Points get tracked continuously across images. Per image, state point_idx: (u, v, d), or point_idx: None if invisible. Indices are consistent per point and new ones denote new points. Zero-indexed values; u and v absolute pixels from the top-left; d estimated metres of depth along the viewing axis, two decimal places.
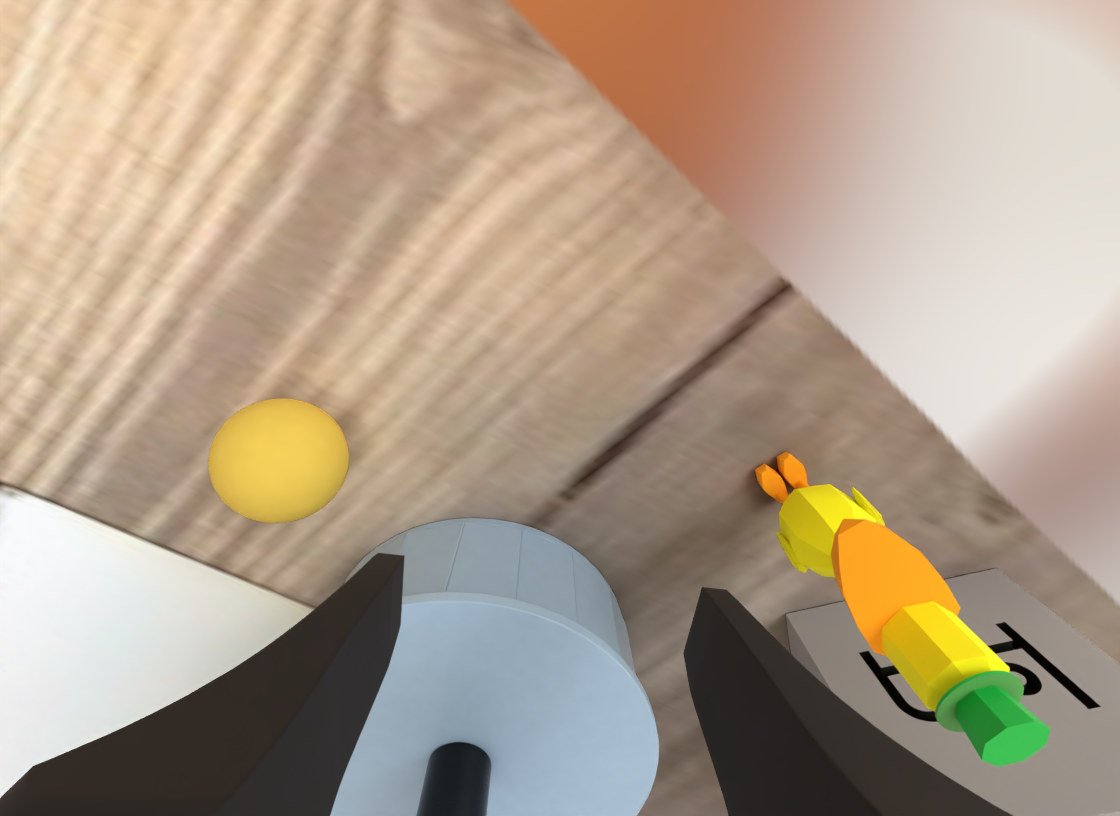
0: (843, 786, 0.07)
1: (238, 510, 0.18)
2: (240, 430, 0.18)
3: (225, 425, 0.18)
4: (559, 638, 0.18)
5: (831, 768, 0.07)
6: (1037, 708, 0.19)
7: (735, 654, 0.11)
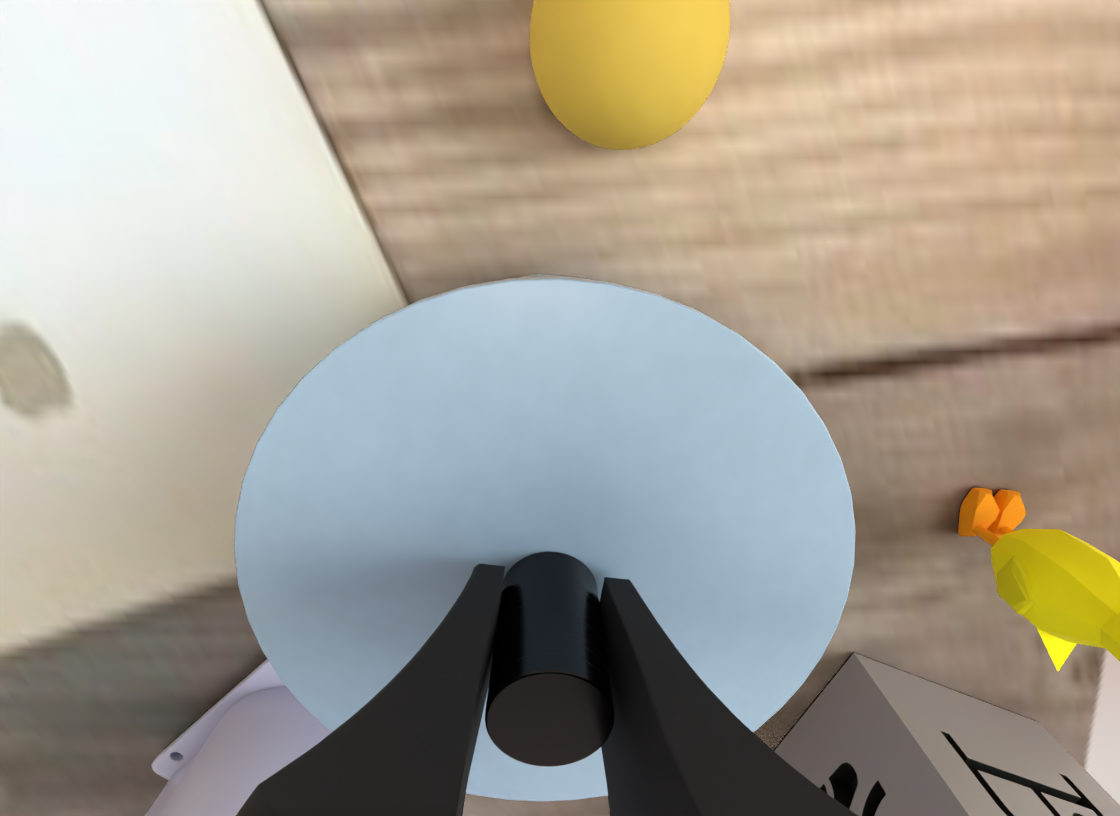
0: (674, 771, 0.07)
1: (579, 26, 0.11)
2: None
3: None
4: (830, 508, 0.12)
5: (668, 754, 0.07)
6: None
7: (620, 643, 0.10)
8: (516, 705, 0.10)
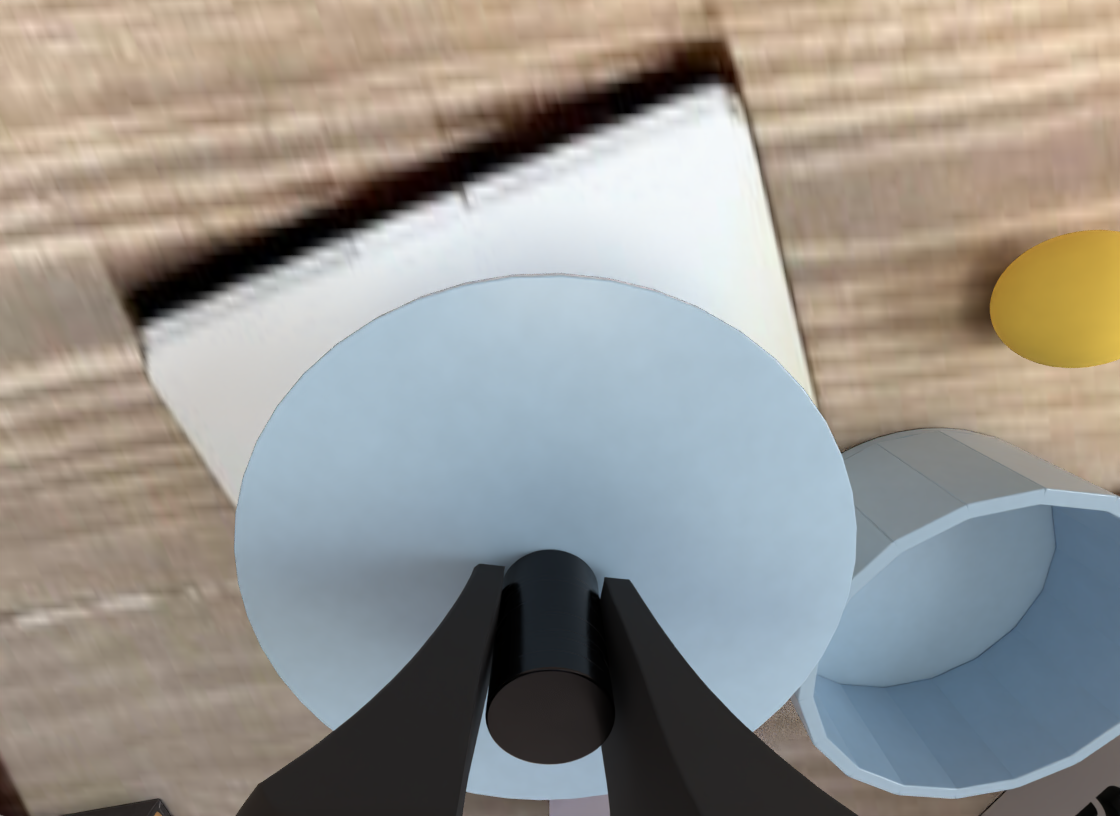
0: (674, 772, 0.07)
1: (1093, 319, 0.16)
2: None
3: None
4: (831, 506, 0.12)
5: (668, 754, 0.07)
6: None
7: (620, 643, 0.10)
8: (517, 703, 0.09)
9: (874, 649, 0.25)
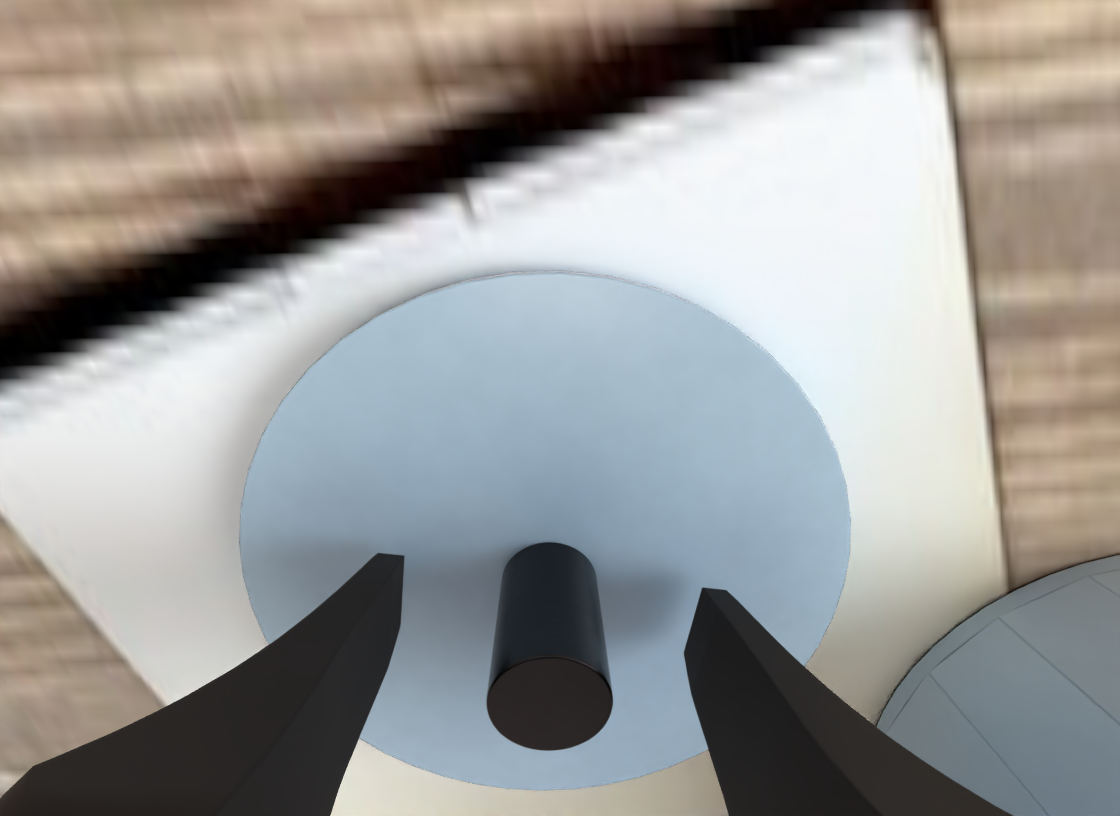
0: (844, 785, 0.07)
1: None
2: None
3: None
4: (826, 499, 0.13)
5: (831, 768, 0.07)
6: None
7: (735, 654, 0.11)
8: (517, 689, 0.10)
9: None
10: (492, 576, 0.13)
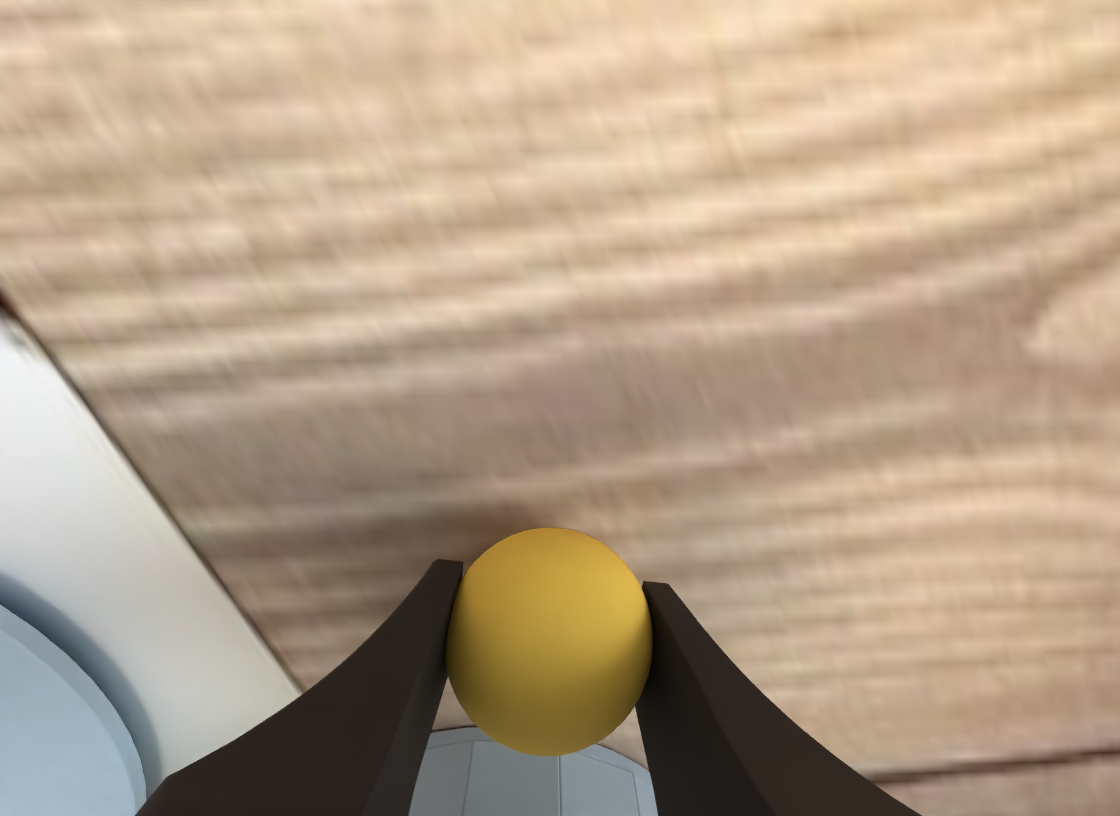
0: (742, 777, 0.07)
1: (485, 720, 0.10)
2: (590, 618, 0.10)
3: (554, 577, 0.10)
4: (65, 706, 0.14)
5: (733, 760, 0.07)
6: None
7: (666, 647, 0.10)
8: None
9: None
10: None
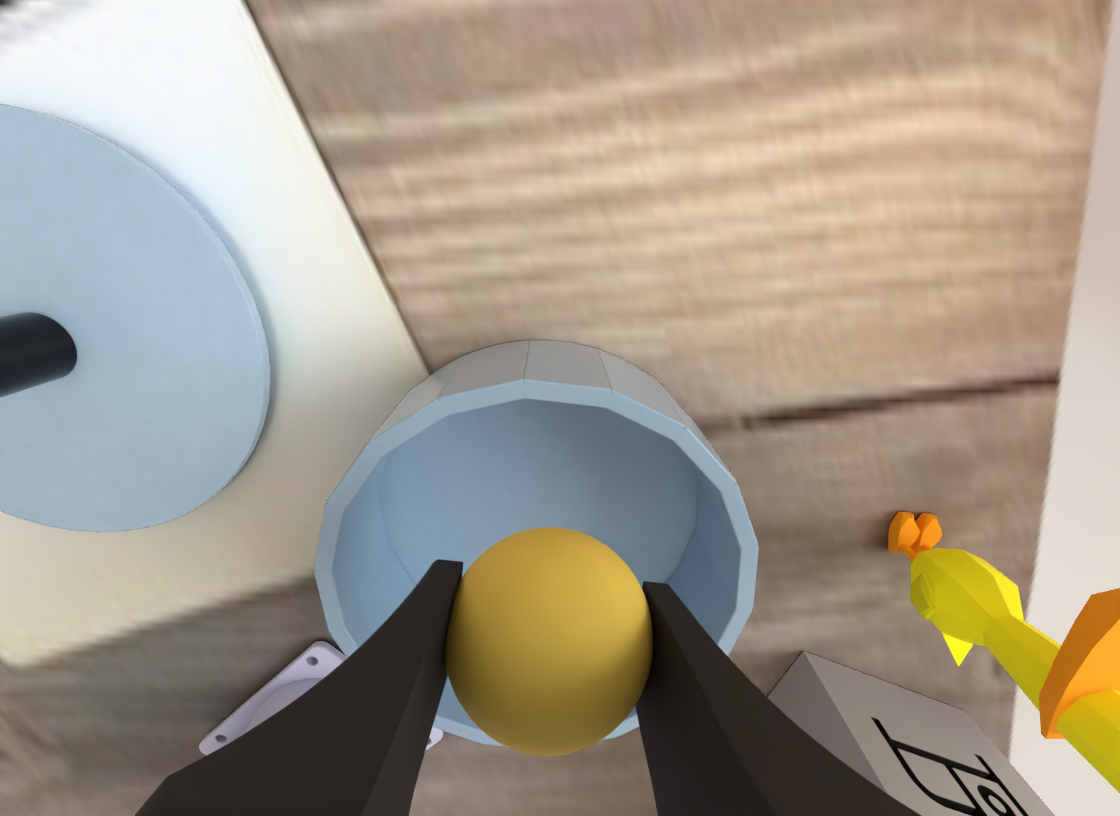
0: (741, 777, 0.07)
1: (484, 720, 0.10)
2: (590, 618, 0.10)
3: (554, 577, 0.10)
4: (220, 280, 0.18)
5: (733, 760, 0.07)
6: None
7: (666, 647, 0.10)
8: None
9: None
10: None
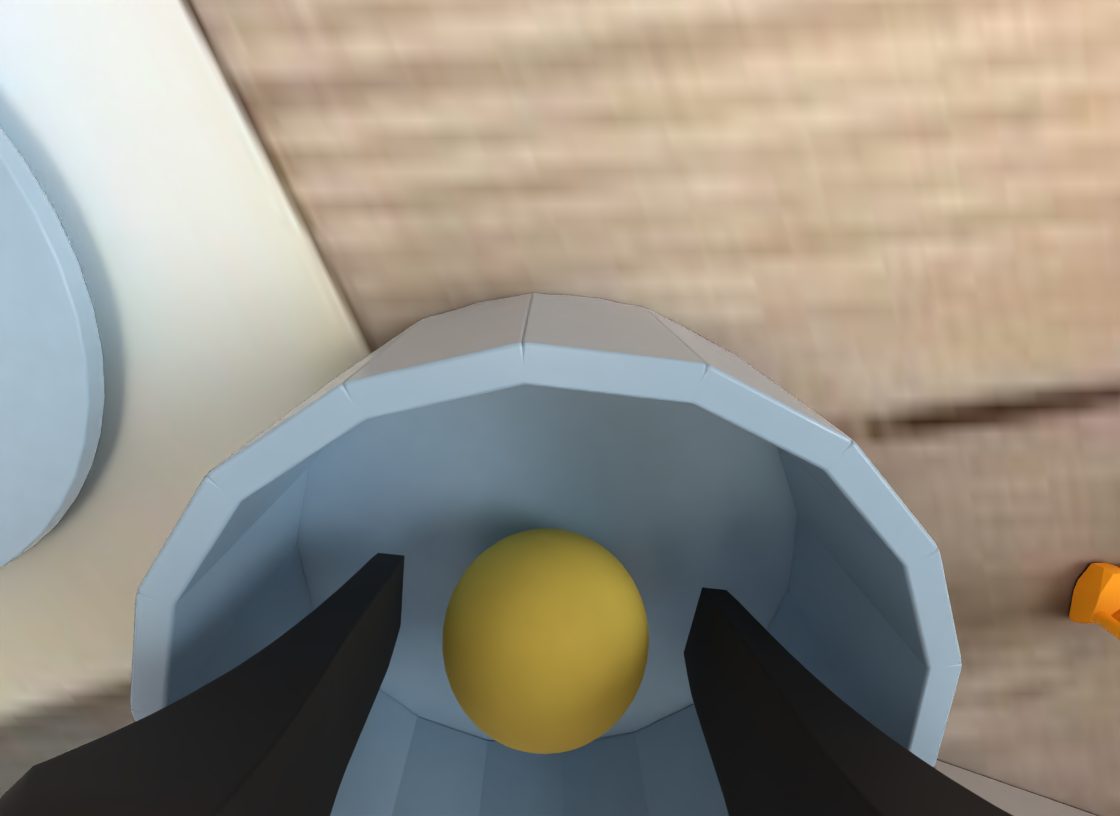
0: (843, 785, 0.07)
1: (479, 720, 0.10)
2: (583, 626, 0.10)
3: (549, 584, 0.10)
4: None
5: (831, 768, 0.07)
6: None
7: (735, 654, 0.11)
8: None
9: None
10: None
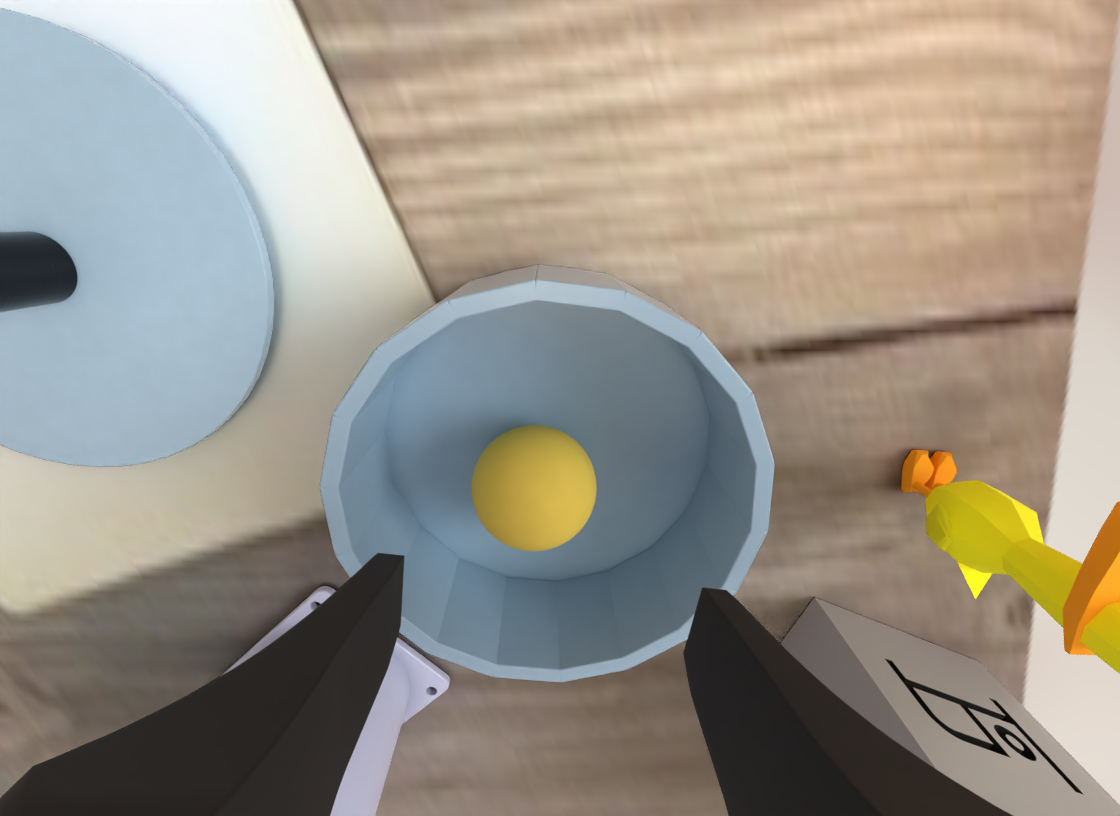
0: (843, 785, 0.07)
1: (487, 526, 0.18)
2: (544, 484, 0.17)
3: (527, 458, 0.18)
4: (223, 197, 0.17)
5: (831, 768, 0.07)
6: (1038, 771, 0.20)
7: (735, 654, 0.11)
8: None
9: None
10: None
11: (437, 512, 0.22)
